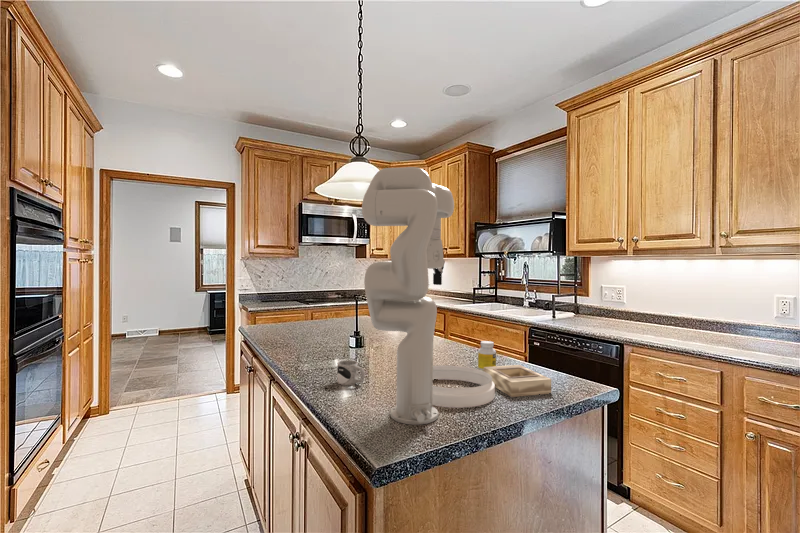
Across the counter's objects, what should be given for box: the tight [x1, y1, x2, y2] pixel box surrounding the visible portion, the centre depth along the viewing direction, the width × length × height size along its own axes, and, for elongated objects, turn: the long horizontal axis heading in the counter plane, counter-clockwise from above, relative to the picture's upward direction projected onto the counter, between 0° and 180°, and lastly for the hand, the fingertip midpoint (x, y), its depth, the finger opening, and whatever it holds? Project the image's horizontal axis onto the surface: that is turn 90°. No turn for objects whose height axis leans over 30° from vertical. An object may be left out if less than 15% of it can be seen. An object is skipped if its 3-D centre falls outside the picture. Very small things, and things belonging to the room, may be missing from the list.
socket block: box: [484, 364, 552, 398], centre depth 129 cm, size 18×14×5 cm
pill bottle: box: [477, 340, 497, 371], centre depth 144 cm, size 6×6×12 cm
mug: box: [336, 360, 365, 386], centre depth 130 cm, size 10×7×7 cm, turn 61°
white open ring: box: [432, 364, 496, 409], centre depth 123 cm, size 27×27×6 cm
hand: (429, 285), depth 133 cm, fingers open, 9 cm apart
